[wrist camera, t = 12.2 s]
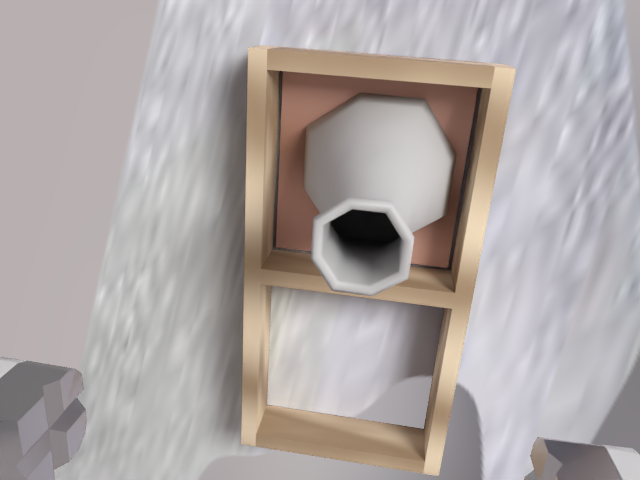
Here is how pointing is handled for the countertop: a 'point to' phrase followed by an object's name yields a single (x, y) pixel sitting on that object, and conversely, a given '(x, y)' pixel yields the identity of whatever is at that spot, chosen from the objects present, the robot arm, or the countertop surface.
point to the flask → (374, 188)
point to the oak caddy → (299, 211)
